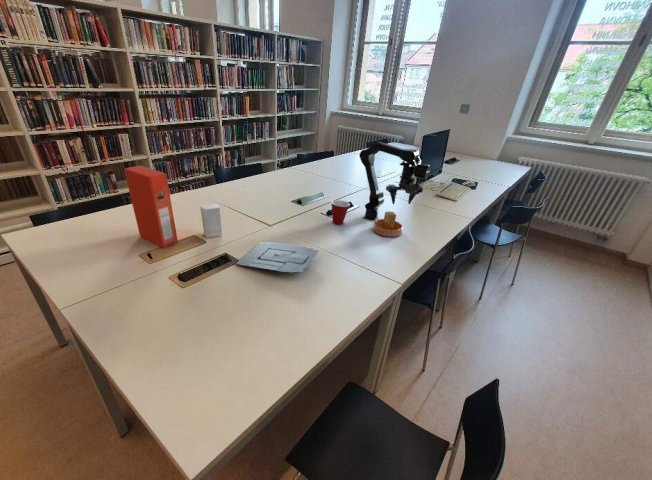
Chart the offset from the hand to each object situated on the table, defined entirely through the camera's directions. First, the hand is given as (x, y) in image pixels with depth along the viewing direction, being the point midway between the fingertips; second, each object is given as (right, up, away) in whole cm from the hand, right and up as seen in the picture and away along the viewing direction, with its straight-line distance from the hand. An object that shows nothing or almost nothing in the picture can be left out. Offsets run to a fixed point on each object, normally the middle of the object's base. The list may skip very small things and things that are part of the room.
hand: (401, 204), depth 175 cm
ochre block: (-8, -14, 0) cm, 16 cm away
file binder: (-121, -22, -24) cm, 126 cm away
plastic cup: (-34, -9, +6) cm, 36 cm away
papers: (-64, -32, -34) cm, 79 cm away
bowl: (-8, -15, 0) cm, 17 cm away
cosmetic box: (-98, -19, -16) cm, 101 cm away
